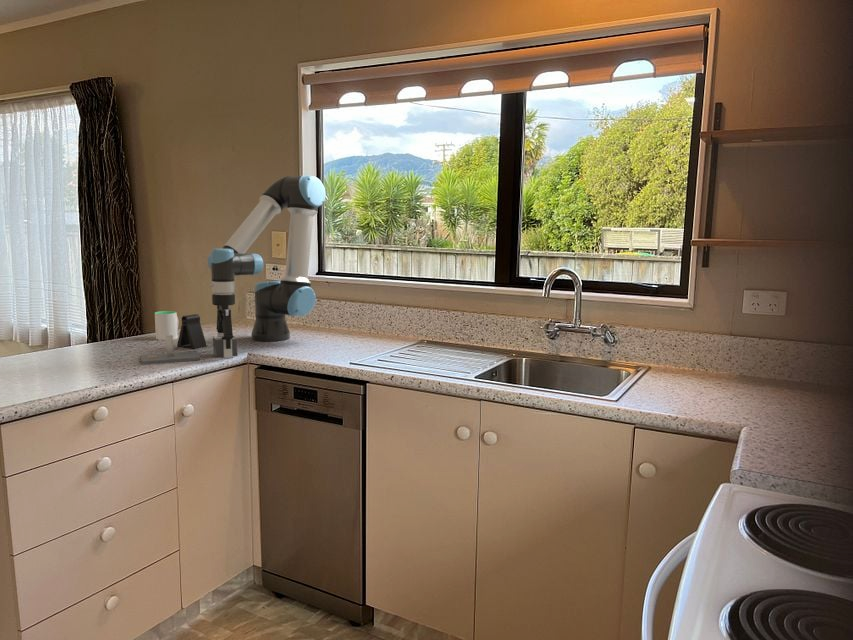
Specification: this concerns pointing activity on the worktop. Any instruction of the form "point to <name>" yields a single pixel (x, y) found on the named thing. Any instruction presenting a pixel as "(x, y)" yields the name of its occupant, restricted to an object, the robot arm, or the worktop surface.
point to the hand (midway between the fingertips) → (225, 354)
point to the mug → (166, 324)
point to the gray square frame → (219, 346)
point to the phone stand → (191, 333)
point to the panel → (170, 359)
